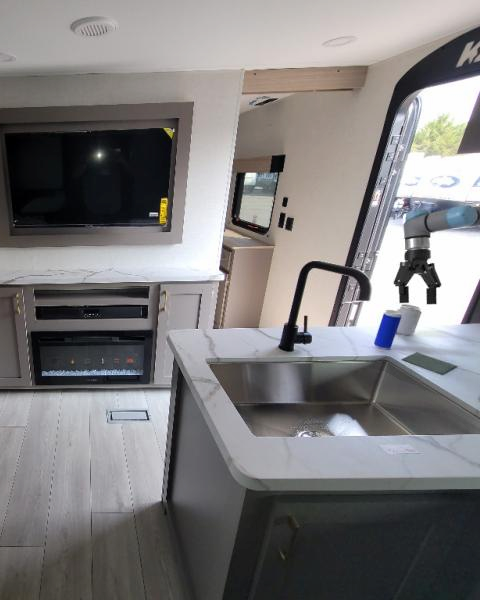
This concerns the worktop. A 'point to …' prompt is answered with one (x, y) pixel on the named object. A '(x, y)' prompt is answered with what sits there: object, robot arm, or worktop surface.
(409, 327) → the can
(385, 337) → the beverage can
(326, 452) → the worktop surface
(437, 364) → the mat
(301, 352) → the worktop surface
